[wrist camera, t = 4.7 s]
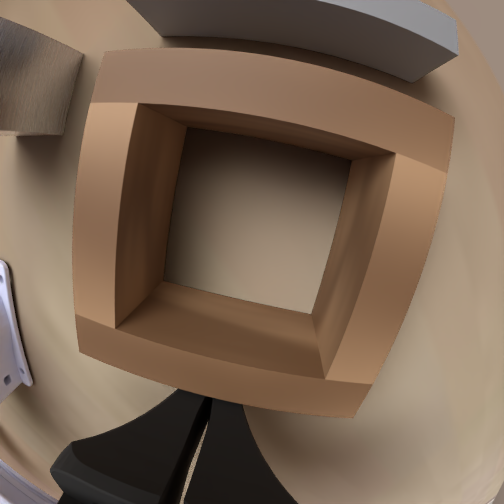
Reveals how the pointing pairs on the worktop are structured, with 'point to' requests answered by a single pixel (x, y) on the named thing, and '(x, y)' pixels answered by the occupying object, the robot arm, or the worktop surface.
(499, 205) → the worktop surface
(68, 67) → the grey rectangular block
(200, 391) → the square wooden frame
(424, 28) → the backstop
